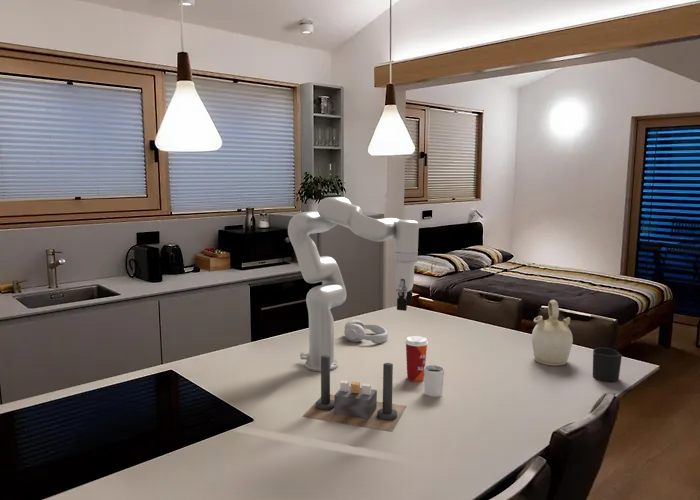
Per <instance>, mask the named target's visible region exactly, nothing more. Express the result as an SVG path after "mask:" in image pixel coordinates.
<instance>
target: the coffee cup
mask: <svg viewBox="0 0 700 500" xmlns="http://www.w3.org/2000/svg"><path fill="white" fill-rule="evenodd" d="M404 343H405V351H406V353H405V354H406V355H405V357H406V375H407V380H408V381H411V382H413V383H414V382H415V383H416V382H423V381H424V367H425V366H426V361H427V360H426V359H427V349H428V344H429V341H428V339H427V338H426V337H425V336H420V335H410V336H407V338H406V340H405V341H404Z"/></svg>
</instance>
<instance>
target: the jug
mask: <svg viewBox="0 0 700 500" xmlns="http://www.w3.org/2000/svg"><path fill="white" fill-rule="evenodd" d="M547 306H548V307H547V312H548V319H545V320H544V319H543V318H544V317H543V316H542V315H538V316H536V317H534V319H533V322H534V323H535V326H534V328H533V330H532V331H531V332H532V333H531V344H532V350H533V352H532V354H533V356H534V358H533V359H534V360H535V361H536V362H537V363H539V364H542V365H546V366H555V367H556V366H557V367H558V366H564V365H566V364H567V363H568V359H569V356H570V353H571V352H572V351H571V350H572V347H573V346H572V345H573V343H574V340H573V333H572V331H571V329H570V327H569V325H570V324H571V323H570V322H571V317H569V316H568V317H566V318H563V320H562V321H560V320H559V319H558V318H559V315H560V313H559V312H560V308H559V303H558V301H557V300H555V299H551V300H549V302H548V305H547Z"/></svg>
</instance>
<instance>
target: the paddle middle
mask: <svg viewBox="0 0 700 500" xmlns="http://www.w3.org/2000/svg"><path fill="white" fill-rule="evenodd" d="M360 384H361V383H360V382H358V381H351V383H350V386H351V392H352V393H358V394H359V392H360V388H361V385H360Z"/></svg>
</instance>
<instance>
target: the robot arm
mask: <svg viewBox="0 0 700 500" xmlns="http://www.w3.org/2000/svg"><path fill="white" fill-rule="evenodd" d="M338 225H339V226H342V227H344V228H348V229H349V230H350V231H351V232H352V233H353V234H354V235H356V236H358V237H361V238H363V239H366V240H368V241H372V242H376V243H378V242H380V243H381V242H386V241H389V240H390V241H391V240H395V243H394V245H395V248H394V249H395V250H394V261H395V263H396V266H395V267H396V269H395V279H394V291H395V292H397V297H396V310H397V311H407V310H408V309H407V308H408V305H409V304H413V287H414V281H415V263H418V254H419V251H418V249H419V229H420V228H419V223H418V221H417V220H414V219H412V220H411V219H401V218H396V217H386V218H385V217H384V218H373V217H370V216H367V215H365V214H363V210H362V208H361V207H360V206H359V205H355V204H352V202H351V201H350V200H349V199H348V198H347V197H344V196H328V197H324V198H323V199H321V200H320V201H319V202H318V204H317V207H316V210H313V211H312V210H311V211H303V212H298V213H296V214H295V215H293V216H292V217H291V218H290V220H289V222H288V226H287V235H288V238H289V241H290V243H291V246H292V247H293V250H294V253H295V256H296V260H297V262H298V266H299V269H300V271H301V275H302V278H303V279H304V281H305V282H306V283H308V284H317V283H321V282H322V284H321V285H317V286H314V287H312V288H311V289H309V291H308V292H307V294H306V297H305V301H306V308H307V312H308V344H309V345H308V352H307V353H306V352H300V354H299V359H300V360H305V363H304V364H305V365H304V366H305V368H306V369H308V370H309V371H314V372H321V356H323V355H328V356H330V371H332V370H333V371H334V370H336V368H338V366H339V363H338V361H337V360H336V359H335V358H334V357H335V355H334V354H335V352H334V351H335V349H334V348H335V346H334V345H335V343H334V342H335V338H334V337H335V332H334V331H335V327H334V326H335V323H334V322H335V321H334V316H333V314H332V312H331V309H333V308H335V307H338V306H341V305H343V304H344V303H345V302H346V299H347V289H346V285H345V282H344V279H343V276H342V272H341V270H340V266H339V265H338V263H337V261H336V259H334V258H333V257H332V256H329V255H323V256H320V253H319V250H318V246H317V245H316V243H315V241H314V240H313V239H312V238H311V237H310V235H311V234H319V233H320V234H321V233H325V232H328V231H329V230H331V229H333V228H334V227H336V226H338Z"/></svg>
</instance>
